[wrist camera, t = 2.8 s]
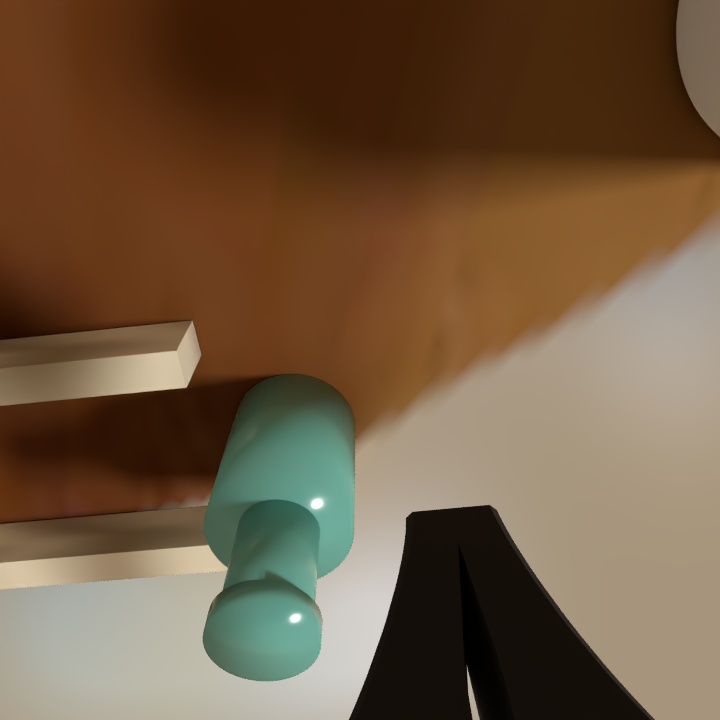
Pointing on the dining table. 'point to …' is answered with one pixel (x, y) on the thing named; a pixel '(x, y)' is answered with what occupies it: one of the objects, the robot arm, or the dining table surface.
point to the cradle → (115, 531)
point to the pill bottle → (700, 56)
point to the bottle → (279, 524)
